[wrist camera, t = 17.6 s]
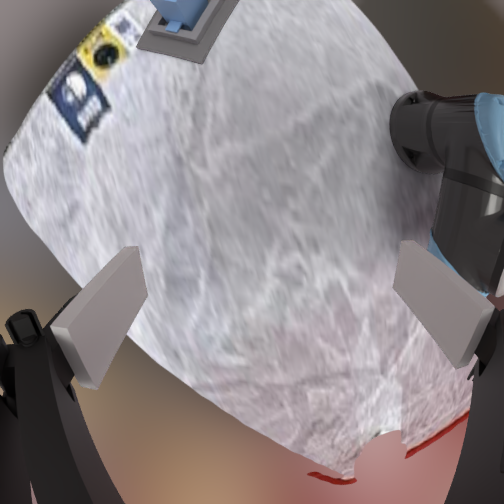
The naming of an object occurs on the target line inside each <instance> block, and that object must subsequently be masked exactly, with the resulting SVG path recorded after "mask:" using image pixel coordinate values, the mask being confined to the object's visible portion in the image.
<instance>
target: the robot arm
mask: <svg viewBox="0 0 504 504" xmlns="http://www.w3.org/2000/svg"><path fill="white" fill-rule="evenodd" d="M390 133H391V138H392V142H393V145H394V147H395V149H396V151H397V153H398V155H399V156H400V158H401V159H402V160H403V161H404V162H405V163H406V164H407V165H408V166H409V167H411V168H412V169H414V170H416V171H419V172H422V173H426V174H438V173H441V172H444V174H443V179H442V185H441V190H440V195H439V200H438V205H437V209H436V213H435V218H434V222H433V226H432V228H431V229H430V240H429V244H428V248H427V250H426V249H425V248H423V247H422V246H421V245H419V244H418V243H417V242H415V241H414V240H401V246H400V252H399V258H398V263H397V268H396V273H395V278H394V283H393V287H392V288H393V289H394V290H395V291H396V292H397V294H398V295H399V296H400V297H401V298H402V300H403V301H404V302H405V303H406V304H407V306H408V307H409V308H410V309H411V311H412V312H413V313H414V314H415V316H416V317H417V318H418V319H419V321H420V322H421V323H422V325H423V326H424V327H425V328H426V330H427V331H428V332H429V334H430V335H431V336H432V338H433V339H434V340H435V342H436V343H437V344H438V346H439V347H440V348H441V350H442V351H443V352H444V354H445V355H446V357H447V358H448V359H449V361H450V362H451V364H452V365H453V367H454V368H455V369H458V368H461V367H464V366H467V365H468V364H469V363H470V361H471V359H472V357H473V355H474V353H475V354H476V355H477V357H478V360H477V361H476V363H475V365H474V367H473V369H472V370H471V372H470V374H469V376H468V378H467V380H469V379H470V378H471V376H472V375H474V378H473V380H472V381H473V390H472V398H471V405H470V412H469V418H468V423H467V428H466V434H465V438H464V442H463V447H462V450H461V455H460V458H459V462H458V465H457V469H456V472H455V475H454V478H453V481H452V484H451V487H450V490H449V492H448V495H447V498H446V500H445V503H444V504H504V309H502V310H501V311H499V310H498V309H496V308H495V306H494V305H493V304H492V303H490V302H489V301H488V300H487V299H486V298H485V297H486V296H487V295H488V294H489V293H491V294H492V295H494V296H496V297H500V296H502V295H504V95H497V94H488V93H479V94H472V95H461V96H452V97H443V96H440V95H438V94H435V93H432V92H429V91H414V92H409V93H407V94H405V95H403V96H402V97H401V98H400V99H399V100H398V101H397V102H396V104H395V105H394V107H393V110H392V113H391V118H390ZM147 296H148V293H147V288H146V284H145V279H144V274H143V269H142V264H141V258H140V253H139V247H138V246H132V247H124V248H123V249H122V250H121V251H120V252H119V253H118V254H117V255H116V256H115V257H114V258H113V259H112V260H111V261H110V262H109V263H108V264H107V265H106V266H105V267H104V268H103V269H102V270H101V271H100V272H99V273H98V274H97V275H96V276H95V277H94V278H93V279H92V280H91V281H90V282H89V283H88V284H87V285H86V286H85V287H84V288H83V289H82V290H81V292H80V293H78V294H77V295H75V296H74V297H72V298H70V299H69V300H68V301H67V302H66V303H65V304H64V305H63V308H61V309H60V310H59V311H58V313H57V314H55V316H54V317H53V318H52V319H51V320H50V321H49V322H48V324H47V325H46V326H45V327H44V328H43V329H42V327H41V324H40V322H39V320H38V318H37V315H36V313H35V311H34V310H32V309H25V310H21V311H19V312H17V313H15V314H13V315H12V316H10V317H9V319H8V320H7V321H6V324H5V327H6V329H7V331H8V332H9V335H10V337H11V339H12V340H13V343H14V344H8V345H6V343H5V341H4V339H3V337H2V335H1V334H0V387H1V388H2V389H3V391H4V392H3V396H1V395H0V504H32V497H31V486H30V481H31V484H32V488H33V491H34V494H35V497H36V500H37V503H38V504H125V503H124V501H123V500H122V498H121V496H120V495H119V493H118V491H117V489H116V487H115V486H114V484H113V482H112V480H111V478H110V476H109V474H108V472H107V470H106V469H105V467H104V464H103V462H102V460H101V458H100V456H99V454H98V451H97V449H96V447H95V445H94V443H93V440H92V438H91V435H90V433H89V430H88V428H87V425H86V422H85V420H84V417H83V414H82V411H81V408H80V406H79V403H78V399H77V397H76V393H75V390H74V388H73V386H72V384H71V383H70V382H71V380H72V378H73V377H74V375H75V377H76V379H77V380H78V382H79V384H80V386H82V387H86V388H90V389H95V390H98V388H99V386H100V384H101V381H102V379H103V378H104V375H105V374H106V372H107V370H108V368H109V366H110V364H111V362H112V360H113V358H114V356H115V354H116V352H117V350H118V348H119V347H120V345H121V343H122V341H123V339H124V337H125V335H126V334H127V332H128V330H129V328H130V326H131V324H132V323H133V321H134V319H135V317H136V316H137V314H138V312H139V310H140V309H141V307H142V305H143V303H144V302H145V300H146V298H147Z"/></svg>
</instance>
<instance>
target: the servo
mask: <svg viewBox="0 0 504 504" xmlns="http://www.w3.org/2000/svg"><path fill="white" fill-rule="evenodd" d="M150 1H151V2H152V3H153V5H154V6H155V7H156V9H157V10H158V11H159V12H160V14H161V15H162V16H163V18H164V19H165V20H166V22H167V23H168V25H167V27H166V29H165V30H166V31H169V32H174V33H178V32H179V30H180V29H185V30H189V31H192V30H193V29H194V27H195V25H196V23H197V22H198V20H199V18H200V17H201V15H202V14H203V12H204V10H205V9H206V7H207V6H208V4H209V3H208V0H150Z"/></svg>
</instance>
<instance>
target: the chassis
mask: <svg viewBox="0 0 504 504" xmlns="http://www.w3.org/2000/svg"><path fill="white" fill-rule="evenodd" d="M238 1H239V0H208V3H209V4H208V6H207V7H206V9H205V10H204V12H203V14H202V15H201V17H200V18H199V20H198V22H197V23H196V25H195V27H194V29H193V30H192V31H189V30H185V29H180V30H179V32H178V33H174V32H169V31H166V30H165V29H166V27H167V25H168V23H167V22H166V20H165V19H164V18H163V16H162V15H161V14H160V12H159V11H158V10H157V11H156V12H155V14H154V15H153V17H152V19H151V20H150V22H149V24H148V26H147V27H146V29H145V31H144V33H143V35H142V36H141V38H140V40H139V42H138V44H137V46H136V47H137V48H138V49H143V50H148V51H153V52H157V53H162V54H166V55H170V56H174V57H178V58H182V59H185V60H189V61H193V62H196V63H199V64H203V62H204V60H205V58H206V56H207V54H208V53H209V51H210V49H211V47H212V45H213V43H214V42H215V40H216V38H217V36H218V34H219V33H220V31H221V29H222V27H223V26H224V24H225V22H226V21H227V19H228V17H229V16H230V14H231V12H232V11H233V9H234V8H235V6H236V4H237V3H238Z"/></svg>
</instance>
